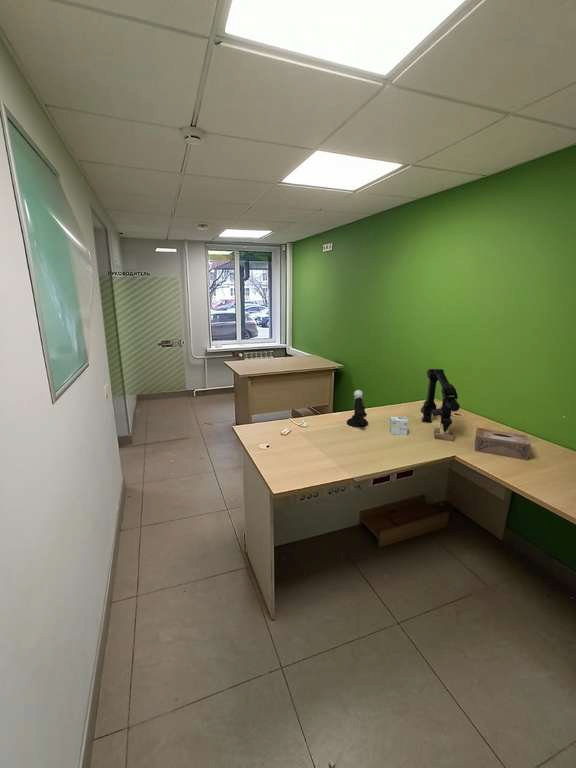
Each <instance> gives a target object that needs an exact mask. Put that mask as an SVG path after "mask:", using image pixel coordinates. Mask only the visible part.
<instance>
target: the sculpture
mask: <svg viewBox="0 0 576 768" xmlns="http://www.w3.org/2000/svg"><path fill="white" fill-rule="evenodd" d="M353 396H354V399H353V402H354V404H353V405H354V411H353V415H352V416H351V417H350V418H348V419H347V420H346V425H348V426H349V427H351V426H352V427H353V428H366V427H367V426H368V425H369V421H368V420H367V419H366V418H365V417H367V416H368V414H367V412H366V410H365V409H366V406H365V405H364V402H363V399H364V398H363V396H364V393H363V391H362V390H360V389H357V390H355V391H354V392H353Z"/></svg>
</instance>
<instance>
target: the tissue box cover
mask: <svg viewBox="0 0 576 768" xmlns="http://www.w3.org/2000/svg"><path fill="white" fill-rule="evenodd" d="M474 439H475V440H474V452H477V453H482V454H483V453H484V454H490V455H493V456H495V455H496V456H500V457H504V458H505V457H506V458H511V459H516V460H522V461H528V460H529V454H530V451H531V446H532V445H531V441H530V439H529V437H528V434H524V433H517V432H511V431H510V432H509V431H504V430H503V431H502V430H496V429H491V428H483V427H476V431H475V438H474Z"/></svg>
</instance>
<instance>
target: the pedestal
mask: <svg viewBox="0 0 576 768" xmlns="http://www.w3.org/2000/svg"><path fill="white" fill-rule="evenodd" d="M433 429H434V431H433V436H434V437H433V438H434V439H433V440H441V441H447V442H454V439H455V436H454V430H453V429H452V430H451V429H449V433H448V434H441V433H440V428H433Z"/></svg>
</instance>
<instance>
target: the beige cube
mask: <svg viewBox="0 0 576 768" xmlns="http://www.w3.org/2000/svg"><path fill="white" fill-rule="evenodd" d="M439 429H440V433H441V434H448V433H449V430H450V427H449V428H448V429H447V430H446V432H444V429H443V424H442V423H441V421H440V423H439Z"/></svg>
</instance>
